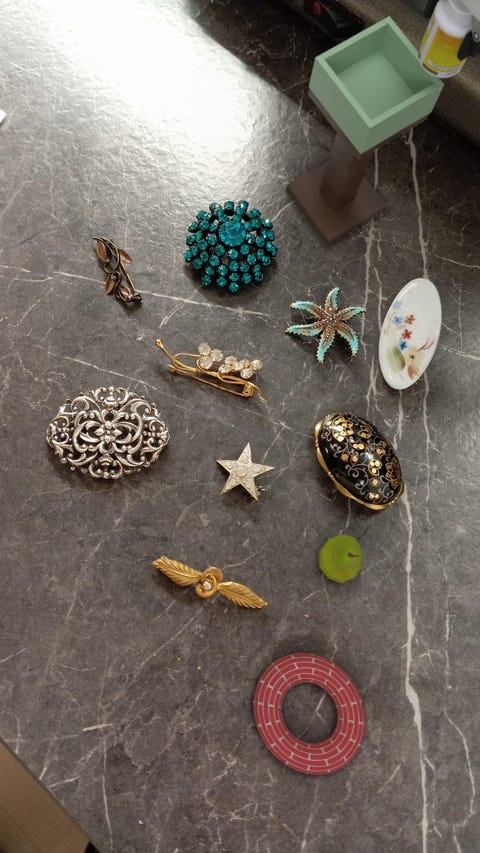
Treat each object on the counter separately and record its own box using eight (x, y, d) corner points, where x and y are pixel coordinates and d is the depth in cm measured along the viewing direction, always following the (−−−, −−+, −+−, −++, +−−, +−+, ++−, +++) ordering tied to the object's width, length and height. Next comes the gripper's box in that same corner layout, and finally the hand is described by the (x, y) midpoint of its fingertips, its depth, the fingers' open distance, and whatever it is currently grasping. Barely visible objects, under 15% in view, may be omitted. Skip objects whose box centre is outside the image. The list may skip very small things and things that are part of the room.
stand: (343, 156, 141) (379, 47, 116) (384, 210, 139) (430, 112, 114) (285, 189, 139) (309, 87, 113) (327, 245, 137) (360, 153, 112)
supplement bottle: (469, 74, 105) (500, 14, 95) (425, 84, 104) (451, 25, 95) (453, 34, 106) (482, -29, 96) (410, 44, 106) (434, -19, 96)
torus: (230, 688, 120) (232, 689, 117) (318, 631, 123) (322, 630, 119) (296, 796, 117) (299, 800, 114) (384, 734, 120) (390, 737, 116)
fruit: (321, 532, 126) (335, 520, 114) (364, 544, 126) (382, 533, 114) (310, 577, 124) (323, 569, 113) (353, 589, 124) (371, 582, 113)
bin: (379, 46, 116) (389, 15, 110) (431, 112, 114) (444, 84, 108) (308, 86, 113) (315, 57, 108) (360, 154, 112) (369, 128, 106)
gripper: (597, -47, 83) (523, 75, 100) (485, -179, 85) (432, -38, 103) (534, -12, 81) (471, 106, 99) (422, -148, 84) (380, -10, 102)
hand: (452, 31), depth 101 cm, fingers closed on supplement bottle, 5 cm apart
